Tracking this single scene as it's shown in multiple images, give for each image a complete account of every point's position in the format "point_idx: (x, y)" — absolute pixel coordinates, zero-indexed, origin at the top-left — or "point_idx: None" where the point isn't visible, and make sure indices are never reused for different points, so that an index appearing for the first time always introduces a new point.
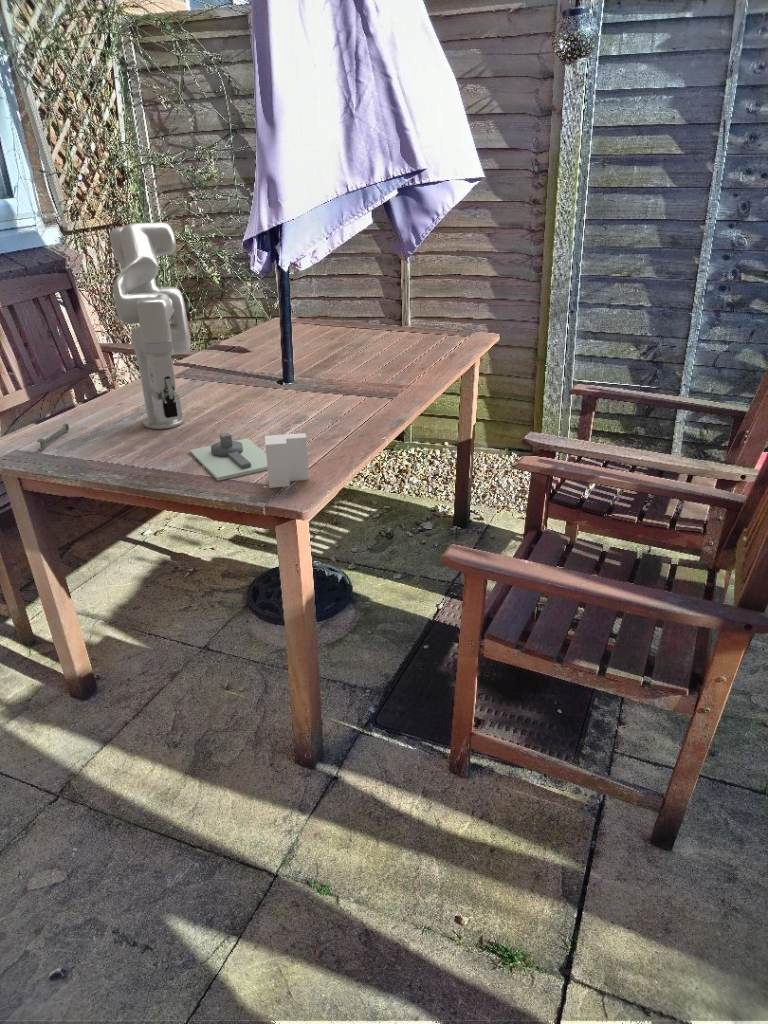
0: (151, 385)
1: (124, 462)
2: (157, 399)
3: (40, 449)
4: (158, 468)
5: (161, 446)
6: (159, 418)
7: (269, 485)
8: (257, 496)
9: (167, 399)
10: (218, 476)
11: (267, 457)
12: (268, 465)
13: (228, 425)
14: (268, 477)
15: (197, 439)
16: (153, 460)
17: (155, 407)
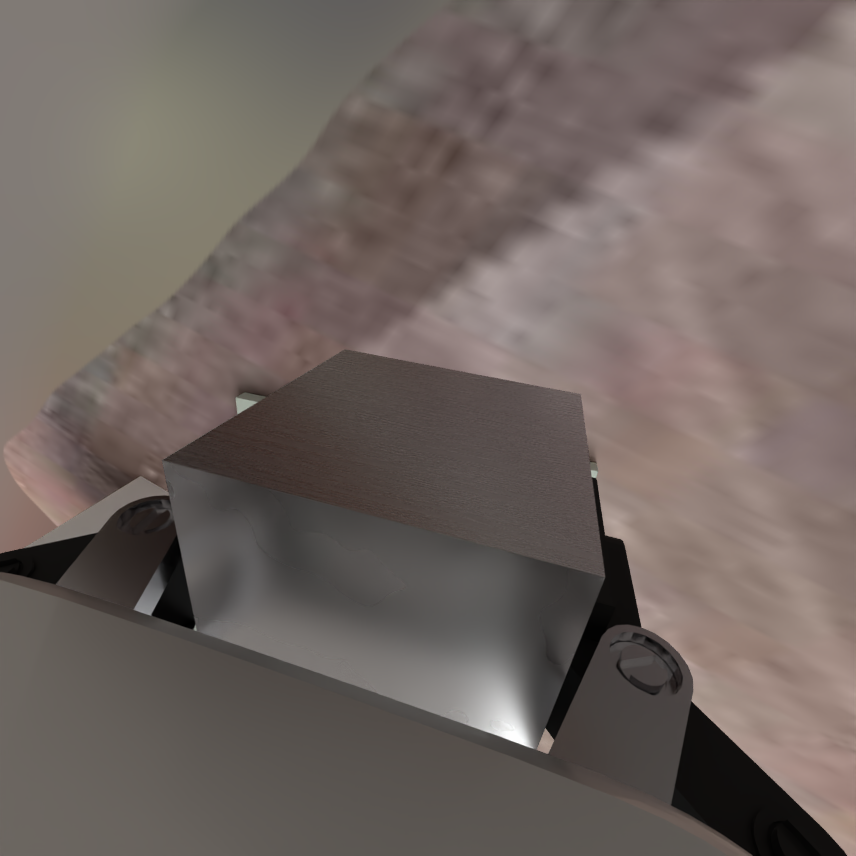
0: (489, 843)
1: (797, 95)
2: (190, 481)
3: None
4: (521, 254)
5: (837, 410)
6: (346, 360)
7: (134, 480)
8: (93, 419)
9: (48, 555)
10: (242, 405)
11: (38, 541)
12: (69, 522)
13: (781, 729)
14: (110, 495)
15: (744, 573)
16: (657, 279)
17: (436, 422)
